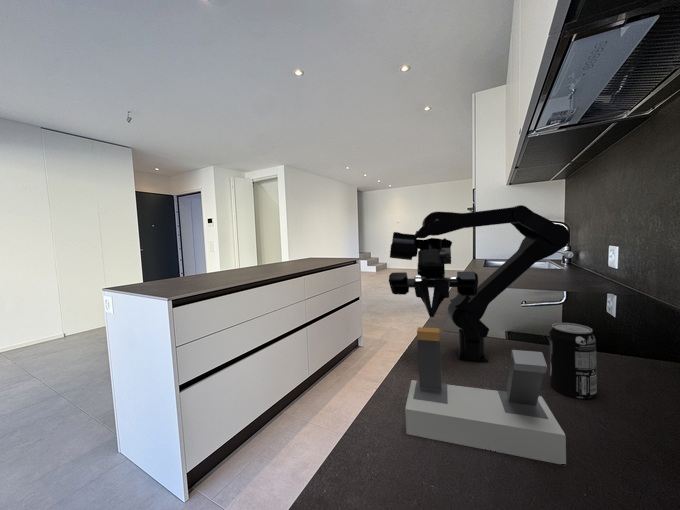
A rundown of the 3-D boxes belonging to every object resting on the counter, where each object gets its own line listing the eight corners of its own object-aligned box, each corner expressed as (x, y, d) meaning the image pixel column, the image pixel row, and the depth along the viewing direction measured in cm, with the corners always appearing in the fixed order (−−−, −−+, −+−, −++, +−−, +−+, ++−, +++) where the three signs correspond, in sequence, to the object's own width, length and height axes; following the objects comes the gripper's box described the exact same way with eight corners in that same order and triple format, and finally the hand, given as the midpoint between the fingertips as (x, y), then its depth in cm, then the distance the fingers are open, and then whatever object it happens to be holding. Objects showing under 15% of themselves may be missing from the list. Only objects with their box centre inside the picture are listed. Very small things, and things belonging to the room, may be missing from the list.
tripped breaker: (420, 381, 48) (418, 327, 47) (441, 384, 46) (439, 328, 46) (419, 388, 46) (416, 331, 45) (441, 391, 44) (439, 332, 44)
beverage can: (551, 378, 55) (549, 320, 55) (595, 387, 51) (594, 325, 51) (549, 392, 50) (548, 329, 50) (598, 404, 46) (597, 335, 46)
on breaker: (506, 390, 43) (511, 349, 38) (532, 393, 41) (542, 352, 36) (509, 404, 41) (515, 363, 36) (536, 407, 40) (547, 366, 35)
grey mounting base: (412, 401, 50) (411, 379, 50) (542, 421, 43) (541, 396, 43) (406, 434, 42) (405, 408, 42) (566, 465, 35) (565, 434, 34)
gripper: (388, 238, 64) (380, 294, 55) (475, 233, 58) (484, 295, 48) (395, 268, 72) (389, 321, 62) (473, 266, 65) (480, 326, 56)
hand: (431, 316), depth 57 cm, fingers closed
